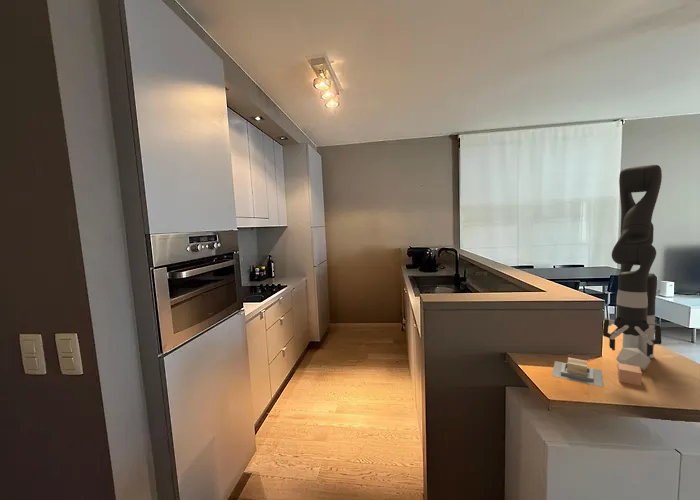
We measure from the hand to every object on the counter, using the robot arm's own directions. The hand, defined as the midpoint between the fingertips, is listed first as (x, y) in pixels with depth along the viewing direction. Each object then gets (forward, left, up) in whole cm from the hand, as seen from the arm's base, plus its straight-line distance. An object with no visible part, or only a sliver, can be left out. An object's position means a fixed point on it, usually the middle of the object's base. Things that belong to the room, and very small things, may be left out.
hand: (630, 352), depth 103 cm
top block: (0, 0, -11) cm, 11 cm away
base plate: (+3, -14, -11) cm, 18 cm away
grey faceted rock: (-13, +2, -11) cm, 17 cm away
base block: (+3, -14, -10) cm, 17 cm away
